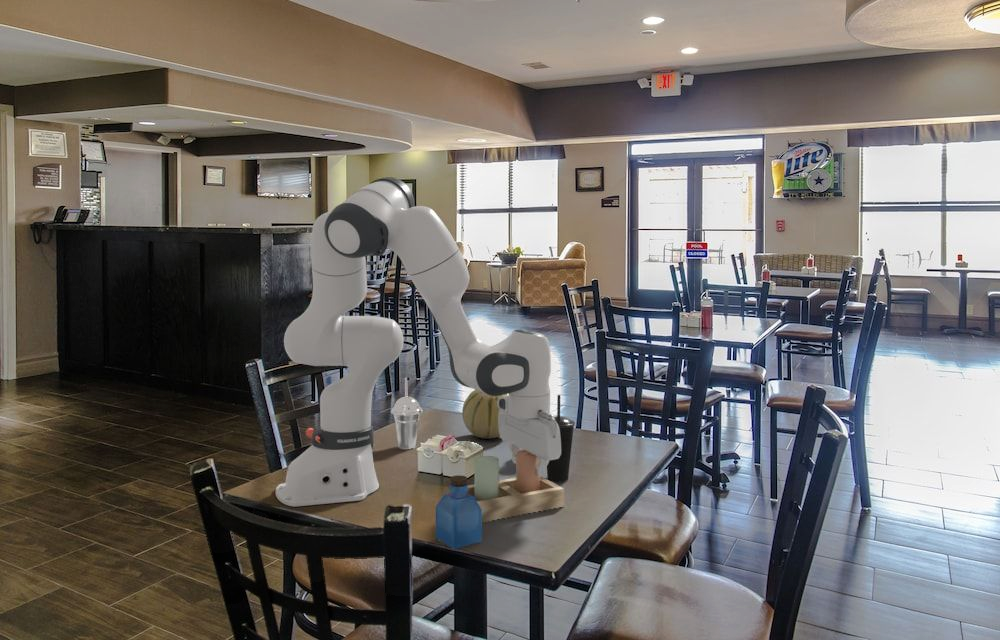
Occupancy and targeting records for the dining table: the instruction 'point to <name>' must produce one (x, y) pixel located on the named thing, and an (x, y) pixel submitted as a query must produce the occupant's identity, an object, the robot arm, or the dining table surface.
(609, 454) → the dining table surface
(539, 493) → the wooden tray
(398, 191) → the robot arm
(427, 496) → the dining table surface
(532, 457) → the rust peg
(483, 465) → the green peg
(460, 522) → the perfume bottle
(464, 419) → the cantaloupe
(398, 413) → the cup with straw
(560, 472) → the drinking cup
